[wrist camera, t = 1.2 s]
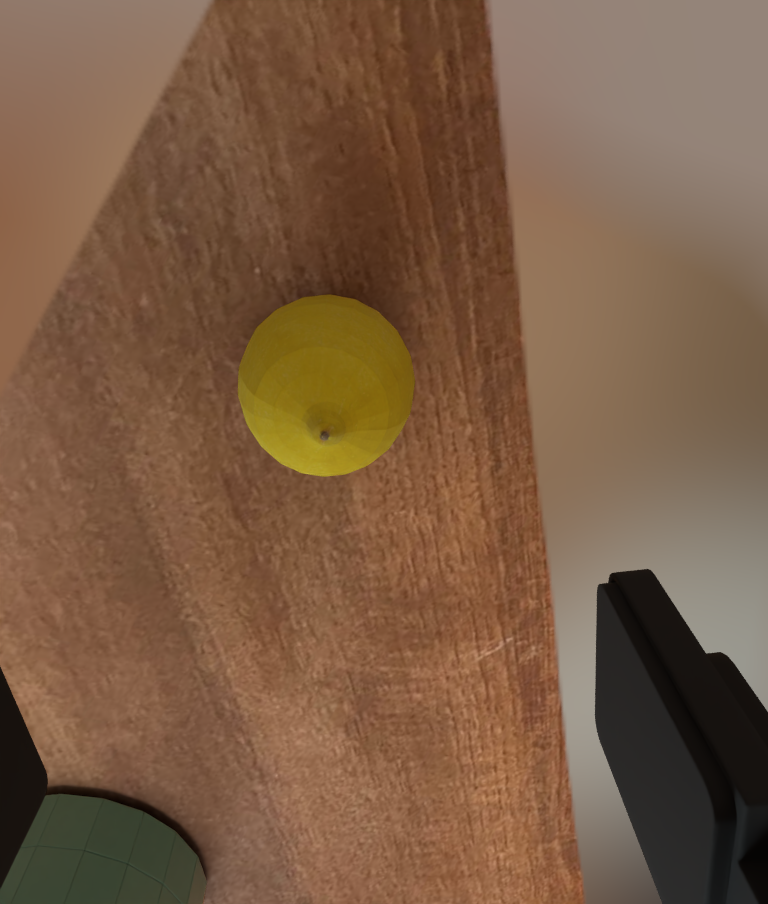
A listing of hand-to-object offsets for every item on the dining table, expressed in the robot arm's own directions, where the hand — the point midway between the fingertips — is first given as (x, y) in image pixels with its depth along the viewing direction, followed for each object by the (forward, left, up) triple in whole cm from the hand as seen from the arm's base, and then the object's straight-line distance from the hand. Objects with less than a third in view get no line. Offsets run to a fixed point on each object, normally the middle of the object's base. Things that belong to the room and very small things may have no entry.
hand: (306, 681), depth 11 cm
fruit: (0, 0, -17) cm, 17 cm away
